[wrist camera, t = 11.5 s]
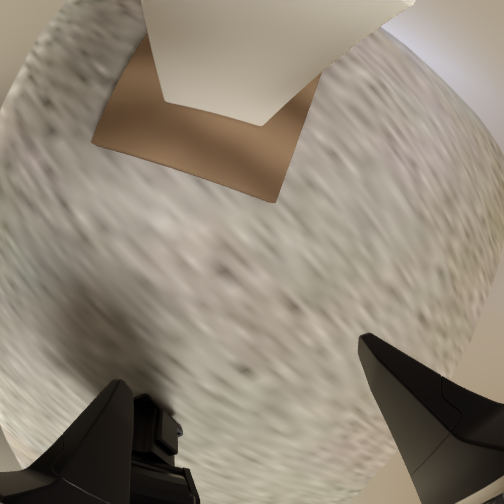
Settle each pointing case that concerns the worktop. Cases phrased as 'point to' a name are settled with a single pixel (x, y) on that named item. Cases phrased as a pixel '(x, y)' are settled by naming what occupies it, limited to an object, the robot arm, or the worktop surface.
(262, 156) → the cutting board
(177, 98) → the milk carton
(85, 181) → the worktop surface
